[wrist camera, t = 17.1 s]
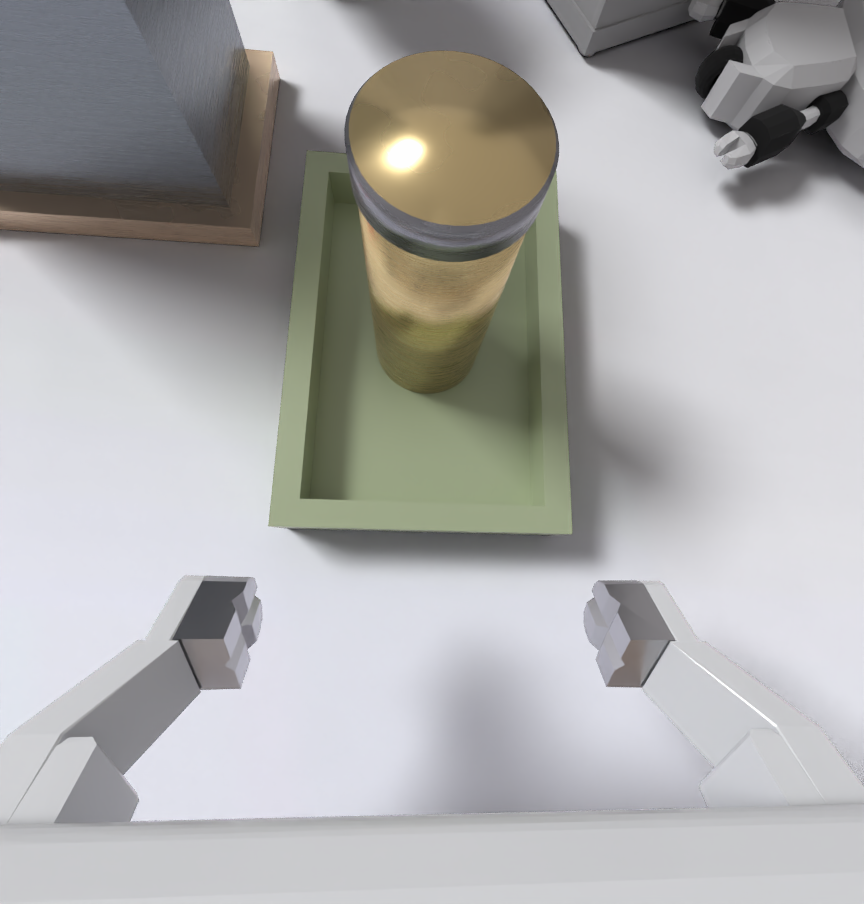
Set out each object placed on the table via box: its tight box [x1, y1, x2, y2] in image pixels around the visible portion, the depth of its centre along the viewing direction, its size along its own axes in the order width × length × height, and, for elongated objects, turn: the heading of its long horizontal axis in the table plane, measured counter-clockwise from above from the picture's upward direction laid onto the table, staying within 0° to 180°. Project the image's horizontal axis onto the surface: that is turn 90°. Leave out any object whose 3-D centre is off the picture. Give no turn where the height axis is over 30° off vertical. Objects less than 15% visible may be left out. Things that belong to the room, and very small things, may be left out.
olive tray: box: [268, 150, 572, 535], centre depth 18 cm, size 16×11×2 cm
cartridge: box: [345, 51, 559, 394], centre depth 14 cm, size 5×5×10 cm
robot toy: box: [688, 0, 864, 169], centre depth 22 cm, size 12×4×15 cm
